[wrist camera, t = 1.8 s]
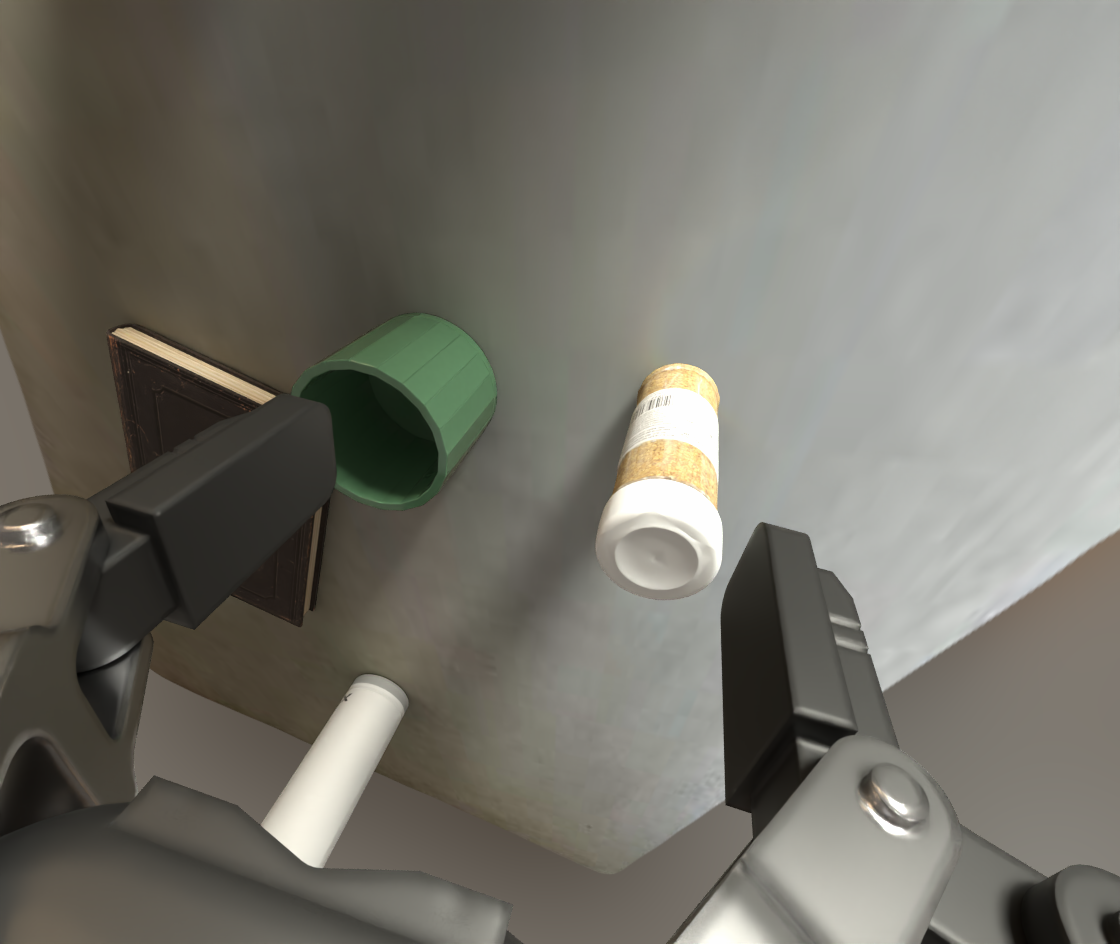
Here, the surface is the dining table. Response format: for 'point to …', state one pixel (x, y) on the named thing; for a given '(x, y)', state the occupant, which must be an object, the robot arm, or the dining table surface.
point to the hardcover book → (189, 408)
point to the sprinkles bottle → (666, 490)
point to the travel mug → (337, 769)
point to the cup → (402, 408)
